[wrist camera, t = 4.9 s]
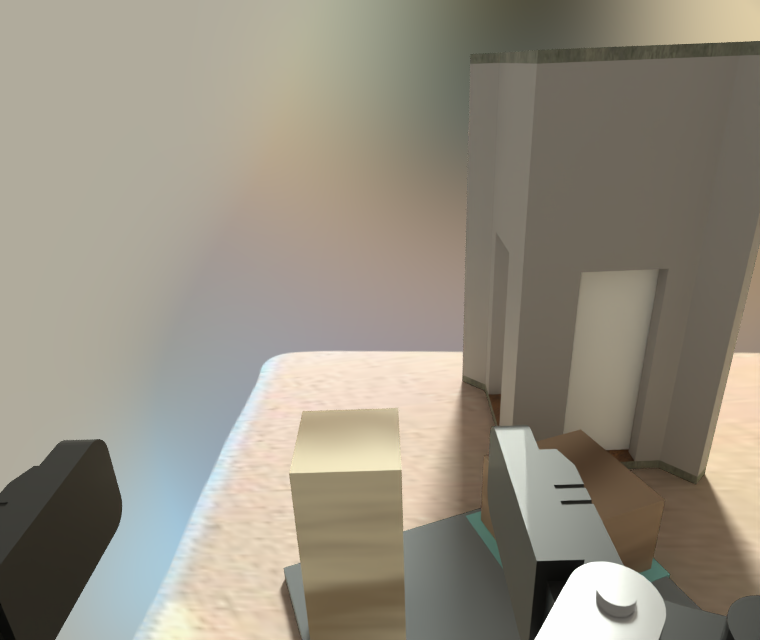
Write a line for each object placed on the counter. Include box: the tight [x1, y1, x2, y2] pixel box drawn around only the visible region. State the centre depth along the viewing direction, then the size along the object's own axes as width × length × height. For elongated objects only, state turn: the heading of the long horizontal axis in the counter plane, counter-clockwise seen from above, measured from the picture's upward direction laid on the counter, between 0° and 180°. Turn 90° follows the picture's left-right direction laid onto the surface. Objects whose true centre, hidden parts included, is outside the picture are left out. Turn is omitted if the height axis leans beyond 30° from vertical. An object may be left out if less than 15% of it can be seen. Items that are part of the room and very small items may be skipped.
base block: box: [481, 429, 665, 573], centre depth 34 cm, size 7×7×5 cm
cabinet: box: [462, 41, 760, 484], centre depth 40 cm, size 21×10×28 cm, turn 43°
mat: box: [284, 508, 701, 640], centre depth 32 cm, size 13×20×1 cm, turn 110°
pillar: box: [289, 408, 406, 640], centre depth 28 cm, size 4×4×12 cm
